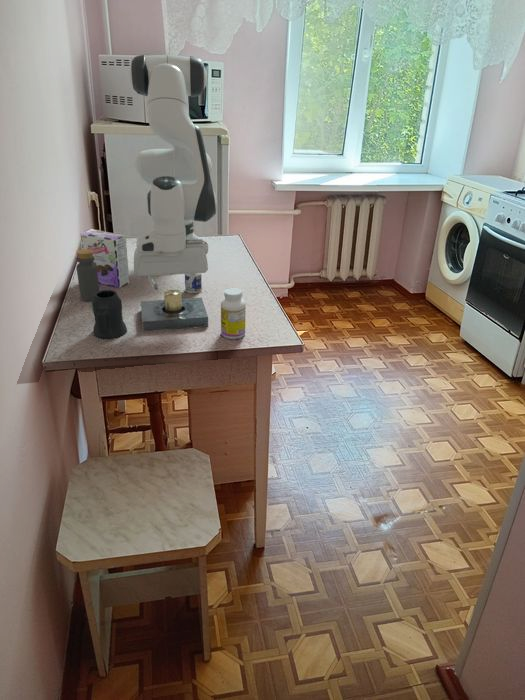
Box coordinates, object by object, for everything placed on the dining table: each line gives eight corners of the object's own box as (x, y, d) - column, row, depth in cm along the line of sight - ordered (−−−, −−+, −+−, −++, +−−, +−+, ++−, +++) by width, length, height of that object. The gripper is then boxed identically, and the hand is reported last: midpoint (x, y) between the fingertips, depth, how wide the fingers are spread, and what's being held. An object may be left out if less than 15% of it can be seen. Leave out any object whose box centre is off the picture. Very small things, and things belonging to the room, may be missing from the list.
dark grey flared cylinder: (97, 324, 149) (92, 287, 144) (129, 324, 150) (126, 287, 144) (86, 344, 138) (81, 305, 133) (122, 344, 139) (118, 305, 134)
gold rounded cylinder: (165, 315, 155) (163, 290, 152) (181, 314, 156) (180, 289, 153) (166, 322, 151) (164, 296, 147) (183, 321, 152) (181, 295, 148)
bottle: (104, 297, 166) (98, 250, 158) (89, 303, 161) (82, 255, 154) (92, 292, 168) (85, 247, 161) (76, 298, 164) (69, 251, 157)
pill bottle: (198, 294, 170) (198, 268, 166) (183, 292, 171) (182, 266, 166) (203, 288, 174) (203, 262, 170) (188, 286, 175) (187, 261, 171)
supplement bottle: (221, 329, 149) (220, 286, 142) (244, 329, 149) (245, 286, 143) (221, 340, 143) (220, 296, 137) (245, 340, 143) (246, 296, 137)
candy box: (85, 281, 177) (79, 232, 169) (97, 275, 182) (91, 228, 174) (119, 288, 172) (114, 239, 164) (130, 282, 177) (126, 234, 169)
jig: (141, 310, 158) (140, 301, 156) (201, 306, 162) (201, 297, 160) (143, 331, 146) (142, 321, 144) (208, 326, 150) (208, 317, 148)
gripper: (206, 235, 148) (207, 281, 155) (131, 238, 143) (135, 285, 150) (209, 242, 142) (210, 290, 149) (131, 246, 138) (136, 294, 145)
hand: (172, 288), depth 150 cm, fingers open, 8 cm apart
